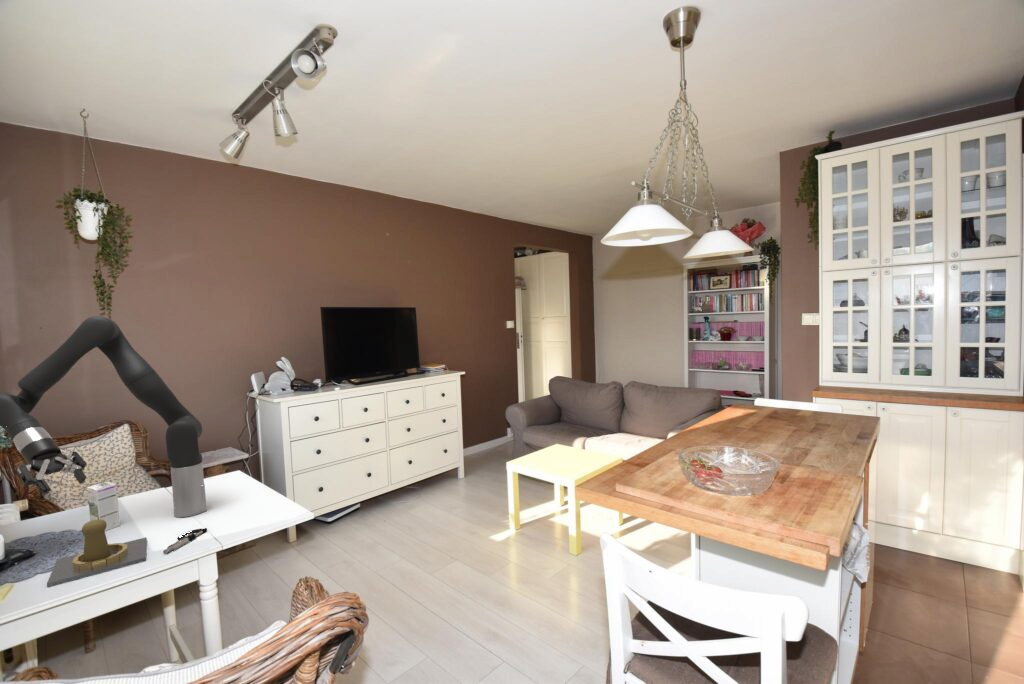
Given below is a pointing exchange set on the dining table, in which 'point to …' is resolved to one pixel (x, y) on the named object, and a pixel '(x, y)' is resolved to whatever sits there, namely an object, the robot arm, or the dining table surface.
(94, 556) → the cork
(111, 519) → the syrup box
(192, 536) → the micrometer
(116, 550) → the collar plate
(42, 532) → the dining table surface
